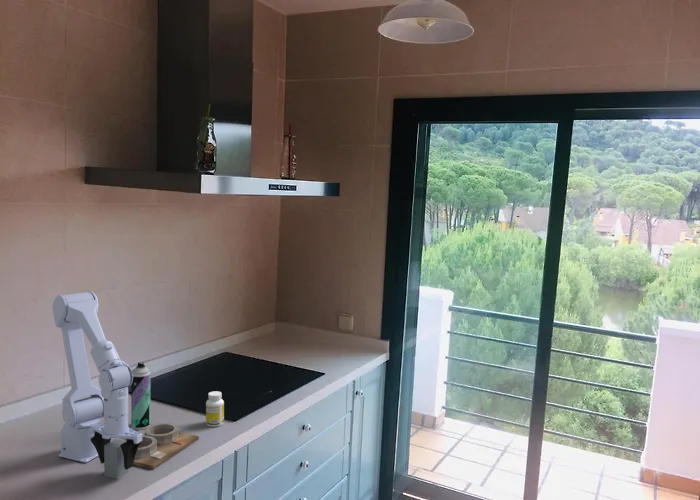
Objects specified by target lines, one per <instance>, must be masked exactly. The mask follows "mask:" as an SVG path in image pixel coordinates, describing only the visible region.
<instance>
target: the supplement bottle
mask: <svg viewBox="0 0 700 500" xmlns="http://www.w3.org/2000/svg"><path fill="white" fill-rule="evenodd" d="M222 395H223V394H222V392H221V391H217V390H216V391H214V390H213V391H210V392H208V398H207V400H206V402H205V424H206V425H207V427H212V428H217V427H220V426H223V424H224V423H225V401H224V400H223V398H222V397H223V396H222Z"/></svg>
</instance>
